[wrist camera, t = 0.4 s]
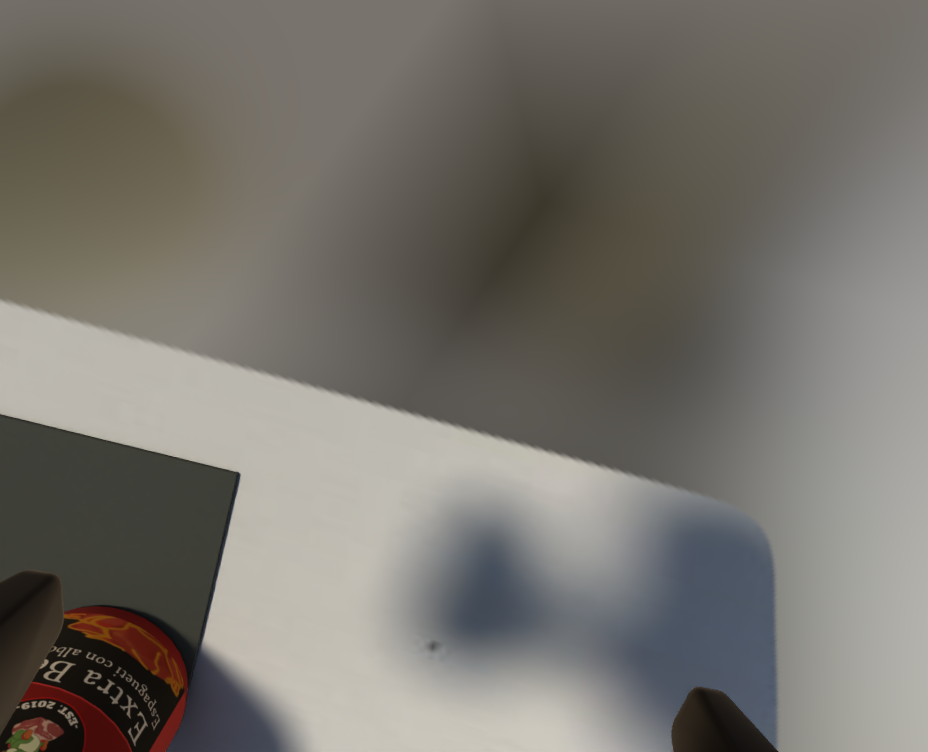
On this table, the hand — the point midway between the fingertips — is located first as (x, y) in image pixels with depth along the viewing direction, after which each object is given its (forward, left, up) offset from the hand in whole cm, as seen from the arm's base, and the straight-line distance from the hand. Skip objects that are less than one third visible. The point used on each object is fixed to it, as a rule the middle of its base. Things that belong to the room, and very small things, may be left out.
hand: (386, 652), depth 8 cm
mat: (-16, +5, -16) cm, 23 cm away
